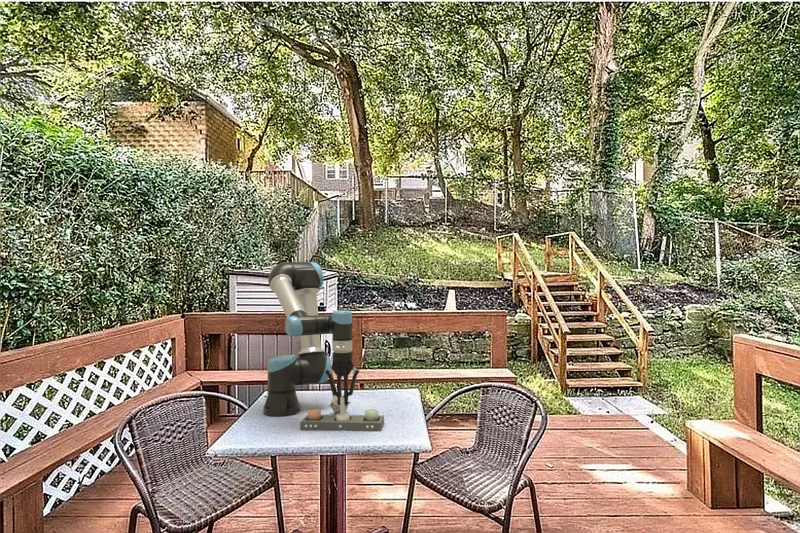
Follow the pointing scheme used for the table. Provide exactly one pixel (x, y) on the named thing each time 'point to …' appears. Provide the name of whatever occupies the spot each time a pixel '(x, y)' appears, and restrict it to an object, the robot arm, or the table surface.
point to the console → (342, 423)
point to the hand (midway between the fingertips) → (342, 413)
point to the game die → (336, 405)
